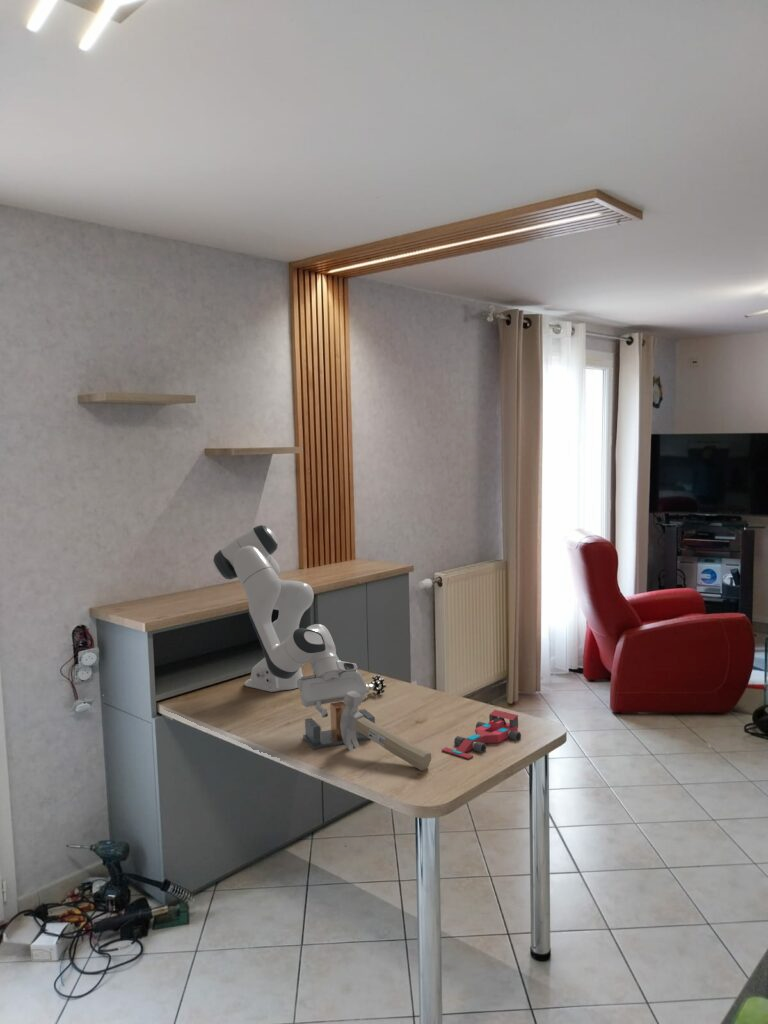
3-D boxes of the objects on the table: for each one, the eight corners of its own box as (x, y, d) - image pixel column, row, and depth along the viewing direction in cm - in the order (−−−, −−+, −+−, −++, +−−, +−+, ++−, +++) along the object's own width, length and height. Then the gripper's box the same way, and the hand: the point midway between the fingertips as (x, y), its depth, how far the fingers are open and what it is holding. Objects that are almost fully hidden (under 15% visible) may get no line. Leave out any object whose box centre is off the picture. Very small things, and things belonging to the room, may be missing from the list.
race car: (434, 730, 216) (486, 707, 234) (434, 751, 216) (487, 726, 234) (474, 742, 206) (526, 717, 224) (475, 763, 206) (526, 737, 224)
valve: (361, 703, 258) (386, 695, 266) (360, 684, 258) (385, 676, 266) (348, 699, 263) (373, 691, 271) (347, 681, 262) (372, 673, 271)
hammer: (436, 733, 202) (353, 688, 220) (425, 738, 198) (342, 693, 217) (427, 786, 205) (346, 738, 223) (416, 792, 201) (335, 743, 220)
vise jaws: (303, 738, 228) (302, 718, 227) (365, 726, 235) (365, 707, 235) (313, 749, 219) (312, 729, 218) (378, 737, 226) (377, 717, 226)
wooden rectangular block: (331, 732, 228) (330, 703, 228) (343, 730, 230) (342, 701, 229) (336, 738, 224) (335, 708, 223) (349, 736, 225) (348, 706, 225)
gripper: (297, 672, 229) (308, 714, 220) (361, 663, 237) (374, 703, 228) (293, 683, 233) (304, 724, 225) (356, 673, 241) (369, 713, 233)
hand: (340, 713), depth 227 cm, fingers open, 8 cm apart
